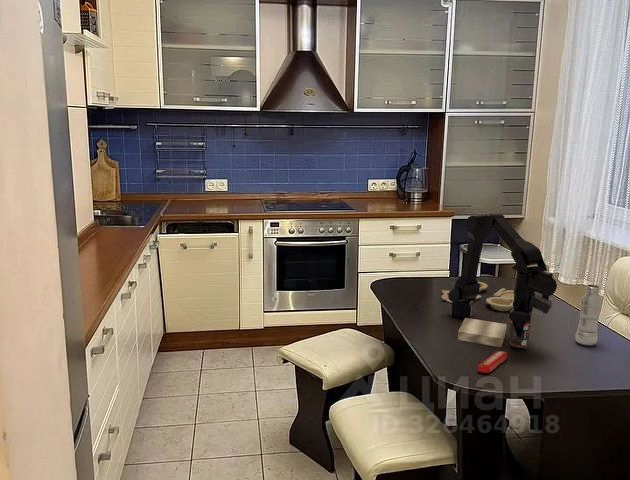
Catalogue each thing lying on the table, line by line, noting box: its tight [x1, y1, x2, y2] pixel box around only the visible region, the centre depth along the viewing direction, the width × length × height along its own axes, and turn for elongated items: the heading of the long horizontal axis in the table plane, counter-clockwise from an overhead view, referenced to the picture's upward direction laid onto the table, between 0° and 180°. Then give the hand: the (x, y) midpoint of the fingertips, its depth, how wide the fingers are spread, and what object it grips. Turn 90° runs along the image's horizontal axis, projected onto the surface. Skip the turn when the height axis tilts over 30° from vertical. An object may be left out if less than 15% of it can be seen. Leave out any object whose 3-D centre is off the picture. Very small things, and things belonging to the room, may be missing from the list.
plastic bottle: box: [574, 283, 603, 347], centre depth 186 cm, size 6×7×20 cm
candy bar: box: [477, 350, 509, 374], centre depth 171 cm, size 16×4×3 cm, turn 140°
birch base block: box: [457, 317, 508, 348], centre depth 193 cm, size 14×14×3 cm
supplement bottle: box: [508, 320, 532, 349], centre depth 182 cm, size 6×6×11 cm
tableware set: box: [440, 281, 514, 312], centre depth 232 cm, size 35×29×4 cm
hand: (519, 333), depth 182 cm, fingers closed on supplement bottle, 6 cm apart
